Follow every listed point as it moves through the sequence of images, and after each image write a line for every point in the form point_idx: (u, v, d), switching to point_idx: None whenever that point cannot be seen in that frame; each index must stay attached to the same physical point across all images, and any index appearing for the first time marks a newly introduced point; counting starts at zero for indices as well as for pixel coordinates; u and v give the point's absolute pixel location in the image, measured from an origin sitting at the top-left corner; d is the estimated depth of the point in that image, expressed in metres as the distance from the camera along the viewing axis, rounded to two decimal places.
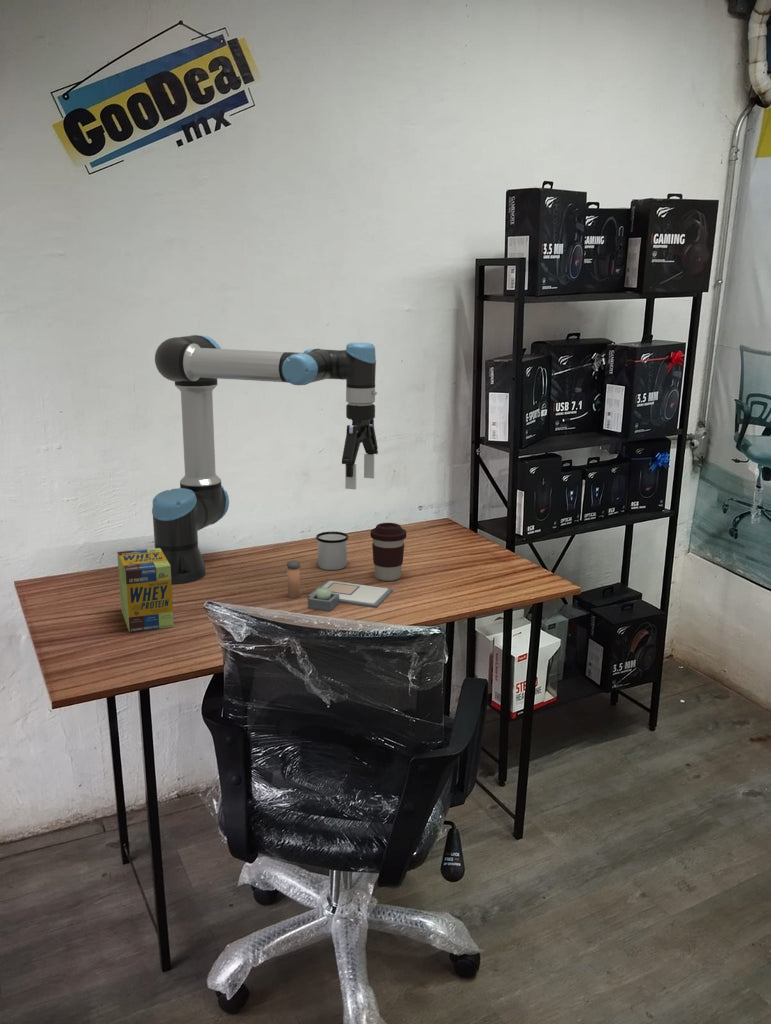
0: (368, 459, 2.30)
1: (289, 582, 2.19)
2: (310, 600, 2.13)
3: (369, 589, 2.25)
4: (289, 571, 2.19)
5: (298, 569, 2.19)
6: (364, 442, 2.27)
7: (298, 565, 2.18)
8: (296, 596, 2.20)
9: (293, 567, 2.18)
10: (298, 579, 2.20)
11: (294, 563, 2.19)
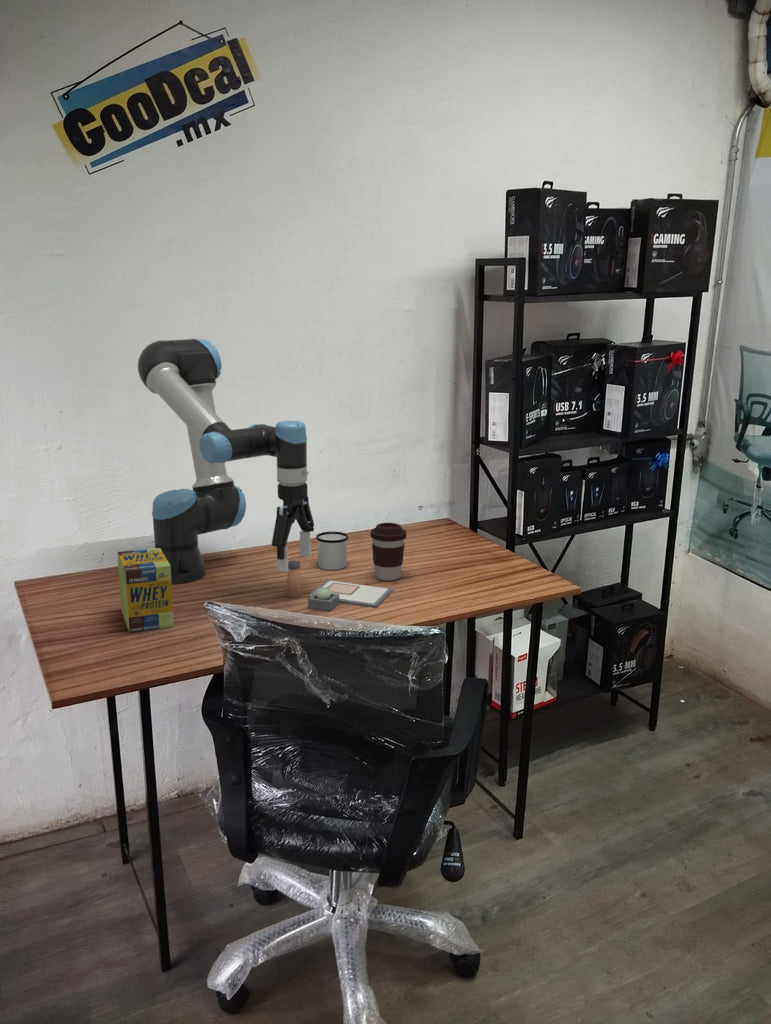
0: (304, 537, 2.24)
1: (289, 582, 2.19)
2: (310, 600, 2.13)
3: (369, 589, 2.25)
4: (289, 571, 2.19)
5: (298, 569, 2.19)
6: (298, 520, 2.21)
7: (298, 565, 2.18)
8: (296, 596, 2.20)
9: (293, 567, 2.18)
10: (298, 579, 2.20)
11: (294, 563, 2.19)
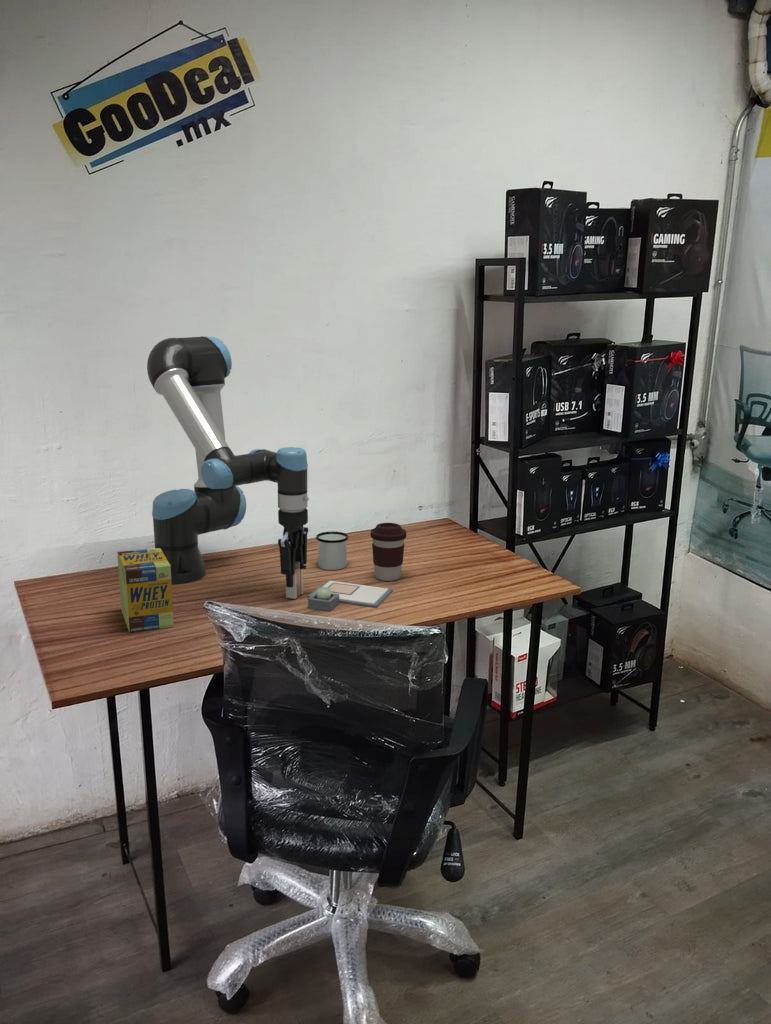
0: None
1: None
2: (310, 600, 2.13)
3: (369, 589, 2.25)
4: None
5: (298, 569, 2.19)
6: None
7: (298, 565, 2.18)
8: None
9: None
10: (298, 579, 2.20)
11: None
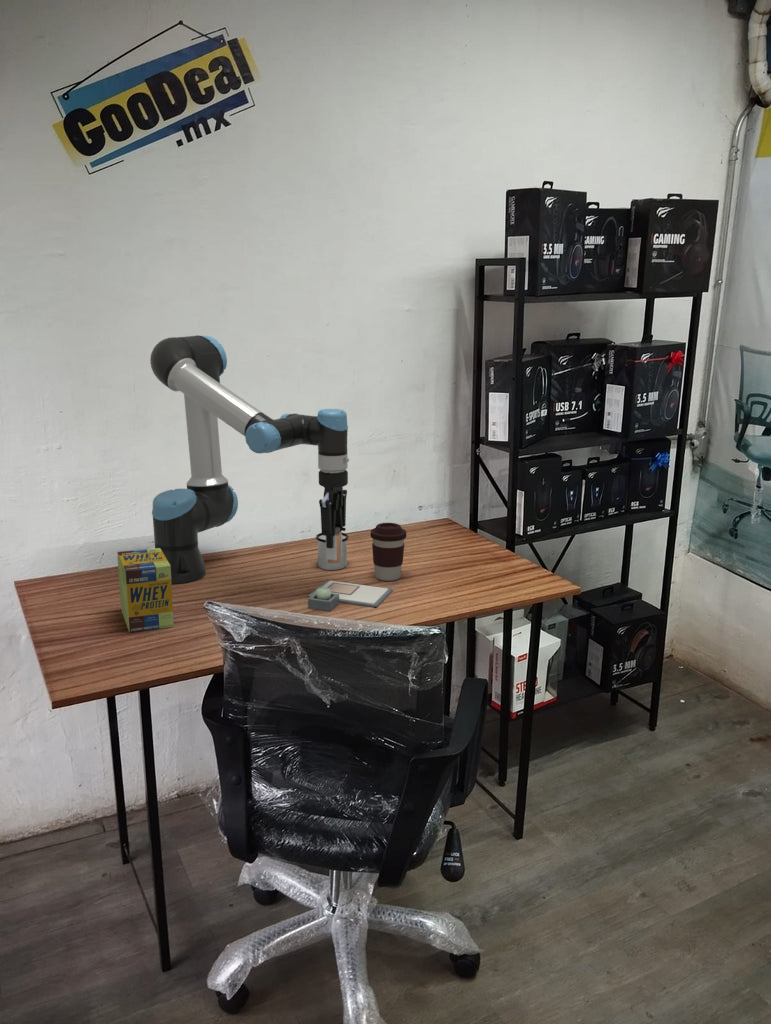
0: None
1: None
2: (310, 600, 2.13)
3: (369, 589, 2.25)
4: None
5: (338, 534, 2.21)
6: None
7: (338, 530, 2.21)
8: (336, 561, 2.22)
9: None
10: (338, 544, 2.22)
11: None
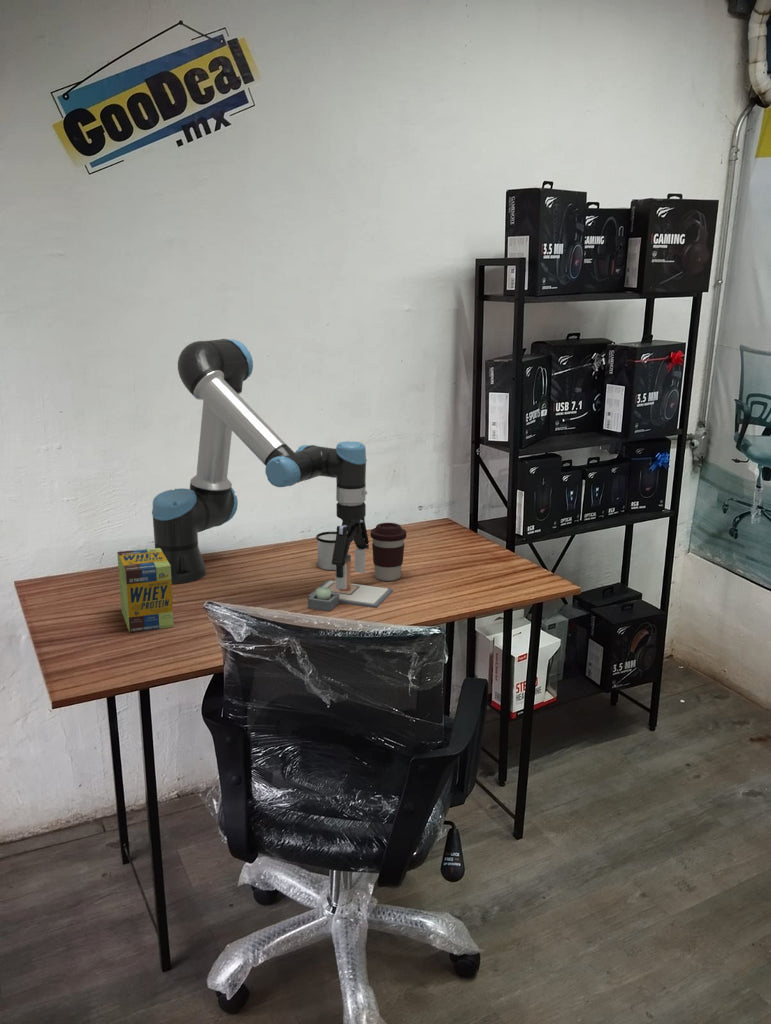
0: (359, 554, 2.28)
1: None
2: (310, 600, 2.13)
3: (369, 589, 2.25)
4: None
5: (349, 562, 2.22)
6: (355, 538, 2.25)
7: (349, 558, 2.22)
8: (347, 589, 2.23)
9: None
10: (349, 572, 2.23)
11: None
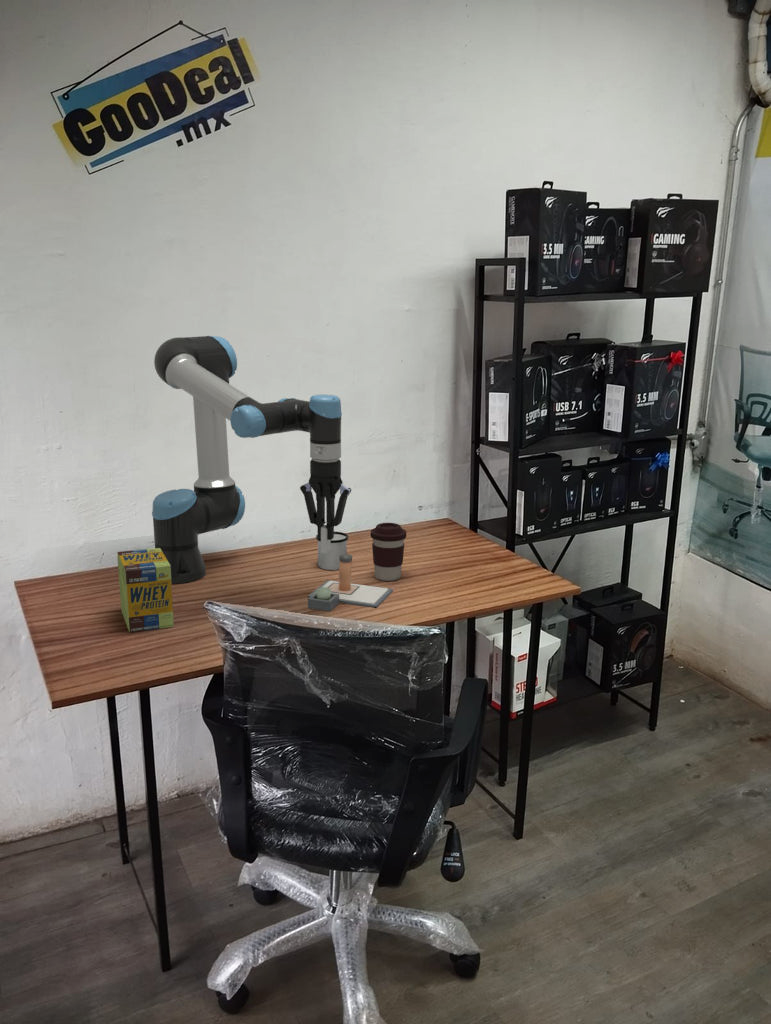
0: None
1: (341, 575, 2.22)
2: (310, 600, 2.13)
3: (369, 589, 2.25)
4: (342, 564, 2.21)
5: (350, 562, 2.22)
6: None
7: (351, 558, 2.22)
8: (348, 589, 2.23)
9: (346, 560, 2.21)
10: (350, 572, 2.23)
11: (347, 556, 2.22)
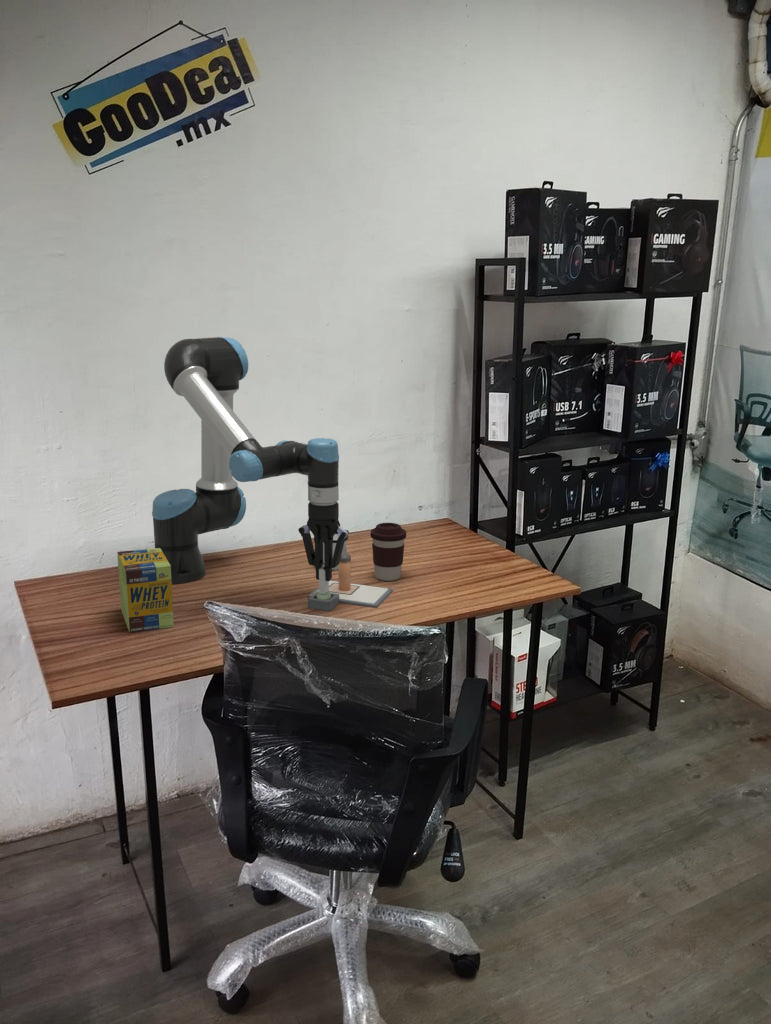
0: None
1: (341, 575, 2.22)
2: (310, 600, 2.13)
3: (369, 589, 2.25)
4: (341, 564, 2.22)
5: (349, 562, 2.22)
6: None
7: (349, 558, 2.22)
8: (348, 589, 2.23)
9: (345, 559, 2.21)
10: (349, 572, 2.23)
11: (345, 556, 2.22)
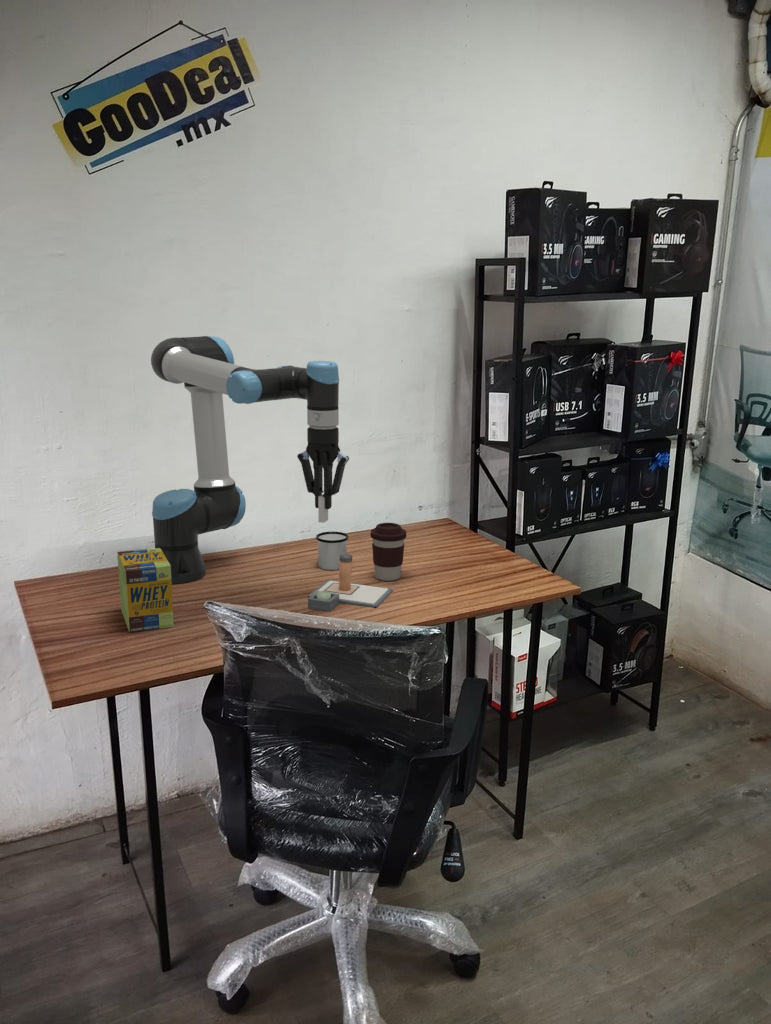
0: None
1: (342, 575, 2.22)
2: (310, 600, 2.13)
3: (369, 589, 2.25)
4: (342, 564, 2.21)
5: (351, 562, 2.22)
6: None
7: (351, 558, 2.22)
8: (348, 589, 2.23)
9: (347, 559, 2.21)
10: (350, 572, 2.23)
11: (347, 556, 2.22)
